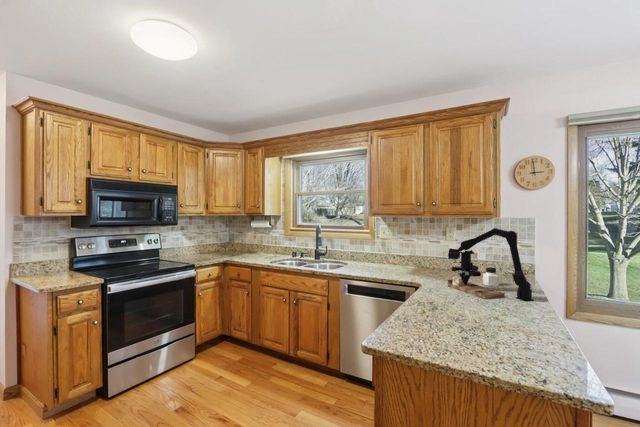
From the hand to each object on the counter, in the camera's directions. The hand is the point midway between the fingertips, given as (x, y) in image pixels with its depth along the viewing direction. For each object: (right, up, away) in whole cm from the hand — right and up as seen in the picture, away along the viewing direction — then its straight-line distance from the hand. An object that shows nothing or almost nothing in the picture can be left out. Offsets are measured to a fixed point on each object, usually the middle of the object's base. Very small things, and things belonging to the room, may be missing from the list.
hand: (465, 284), depth 190 cm
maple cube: (-3, -1, +4) cm, 5 cm away
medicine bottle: (+25, -4, +16) cm, 30 cm away
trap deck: (+5, -4, -2) cm, 6 cm away
